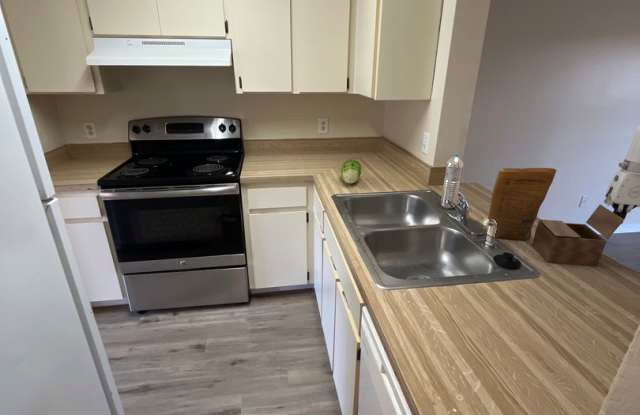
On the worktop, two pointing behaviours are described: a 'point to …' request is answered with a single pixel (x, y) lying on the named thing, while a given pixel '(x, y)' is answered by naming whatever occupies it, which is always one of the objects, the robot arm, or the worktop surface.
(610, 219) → the flap
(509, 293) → the worktop surface
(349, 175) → the lettuce
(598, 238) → the carton
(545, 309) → the worktop surface
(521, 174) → the wooden cutting board
